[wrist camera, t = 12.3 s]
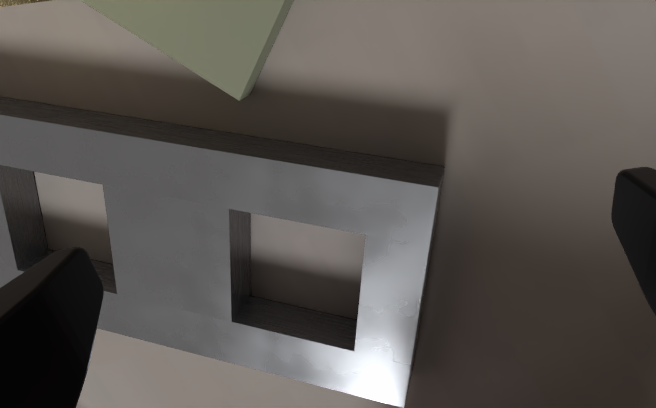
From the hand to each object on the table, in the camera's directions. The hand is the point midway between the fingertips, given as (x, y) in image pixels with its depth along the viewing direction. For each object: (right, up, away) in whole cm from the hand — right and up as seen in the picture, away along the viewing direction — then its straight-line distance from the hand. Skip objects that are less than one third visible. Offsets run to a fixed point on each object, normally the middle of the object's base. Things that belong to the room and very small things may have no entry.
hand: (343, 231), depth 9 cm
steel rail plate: (-6, -1, +16) cm, 17 cm away
